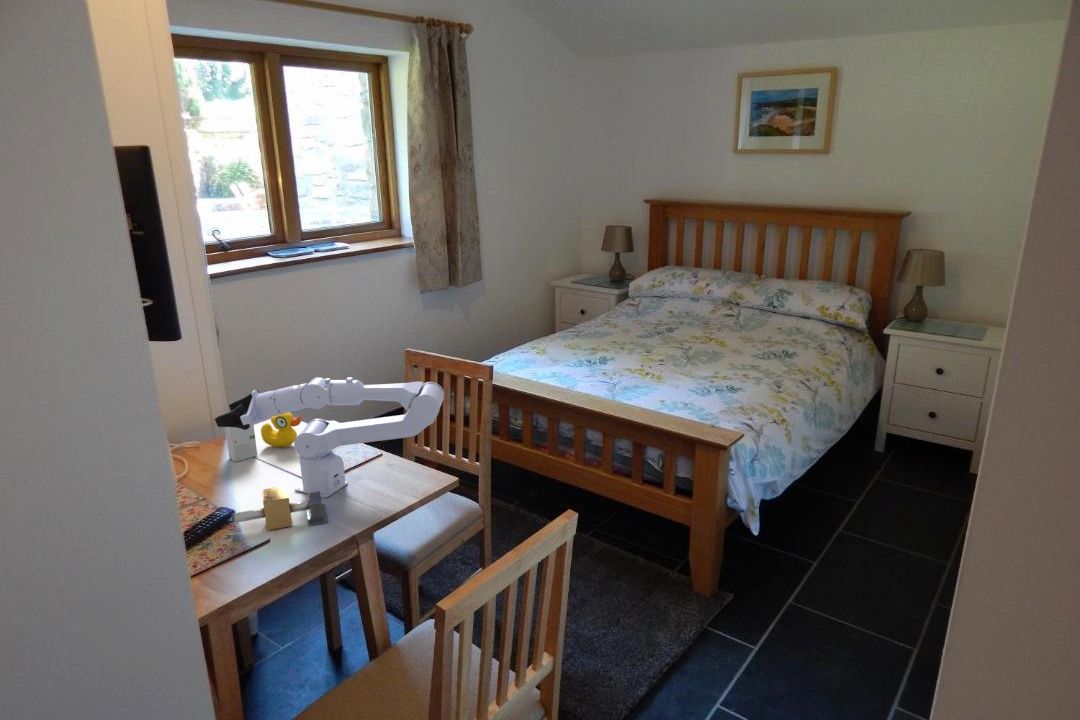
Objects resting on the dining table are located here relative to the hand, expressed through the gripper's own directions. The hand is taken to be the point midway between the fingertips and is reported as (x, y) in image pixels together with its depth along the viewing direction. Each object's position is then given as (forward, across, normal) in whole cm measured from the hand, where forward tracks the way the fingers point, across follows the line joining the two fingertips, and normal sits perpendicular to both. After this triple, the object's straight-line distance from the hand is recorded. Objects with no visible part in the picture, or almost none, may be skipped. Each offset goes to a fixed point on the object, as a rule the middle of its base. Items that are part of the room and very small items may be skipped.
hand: (223, 415), depth 163 cm
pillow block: (-19, +15, +23) cm, 33 cm away
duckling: (+1, -23, +20) cm, 30 cm away
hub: (-12, +17, +21) cm, 30 cm away
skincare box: (+9, -17, +18) cm, 26 cm away
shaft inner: (-16, +16, +20) cm, 30 cm away
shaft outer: (-8, +19, +18) cm, 27 cm away
